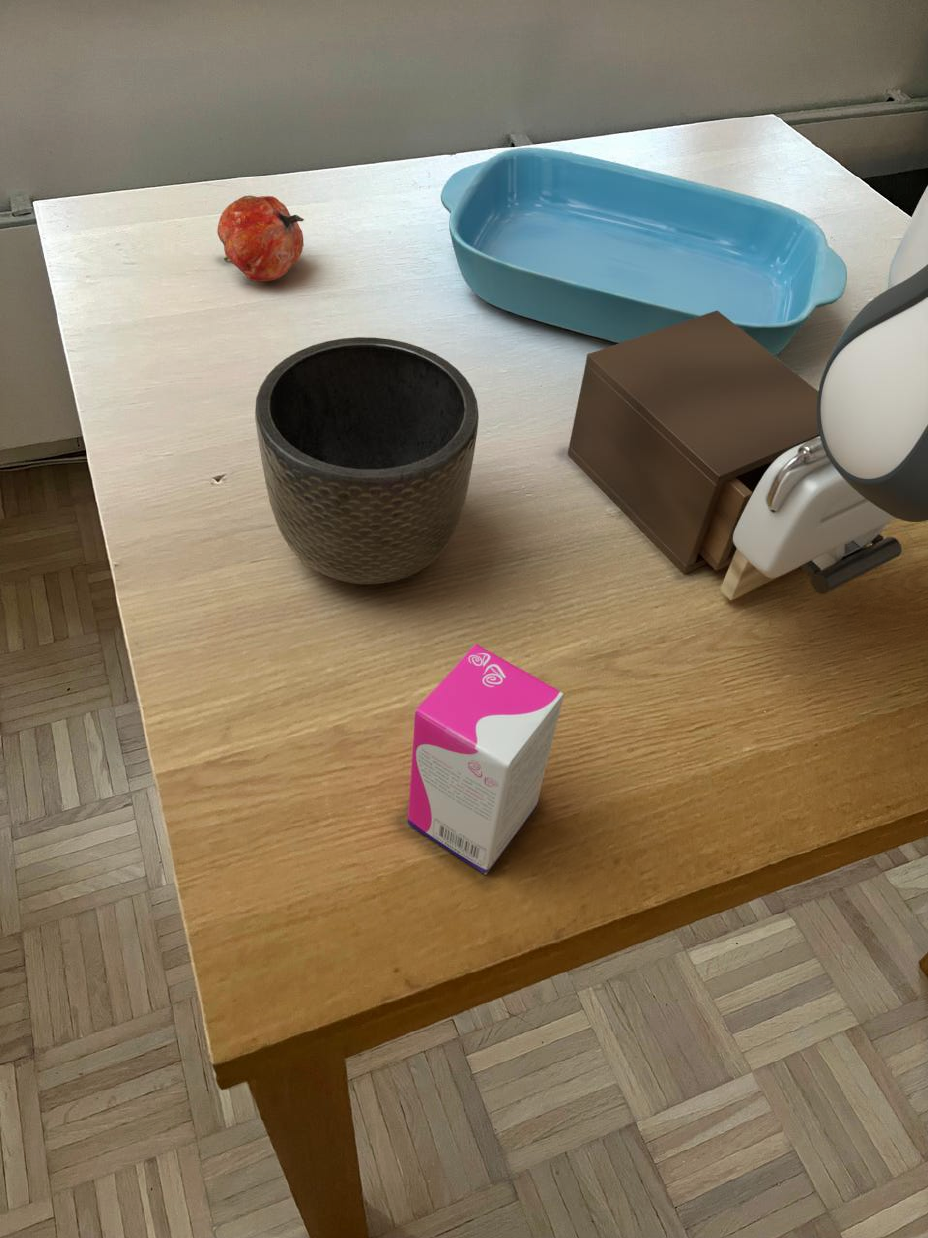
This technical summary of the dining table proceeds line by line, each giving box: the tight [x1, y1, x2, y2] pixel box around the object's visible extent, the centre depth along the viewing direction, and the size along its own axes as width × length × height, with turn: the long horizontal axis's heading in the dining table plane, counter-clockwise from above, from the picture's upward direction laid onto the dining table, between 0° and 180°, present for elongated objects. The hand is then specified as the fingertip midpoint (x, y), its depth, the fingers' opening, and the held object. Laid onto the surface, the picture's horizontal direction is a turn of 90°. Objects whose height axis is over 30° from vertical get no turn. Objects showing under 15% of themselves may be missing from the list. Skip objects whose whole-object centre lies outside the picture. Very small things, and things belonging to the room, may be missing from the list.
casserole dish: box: [440, 147, 848, 357], centre depth 94 cm, size 37×22×7 cm, turn 72°
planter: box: [254, 336, 479, 586], centre depth 68 cm, size 14×14×13 cm
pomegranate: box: [216, 194, 306, 282], centre depth 92 cm, size 7×7×10 cm
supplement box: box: [407, 643, 565, 876], centre depth 56 cm, size 6×6×12 cm
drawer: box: [699, 460, 903, 601], centre depth 73 cm, size 18×11×8 cm, turn 32°
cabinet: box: [567, 310, 820, 575], centre depth 76 cm, size 15×13×10 cm
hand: (833, 561), depth 69 cm, fingers closed, pressing on drawer
